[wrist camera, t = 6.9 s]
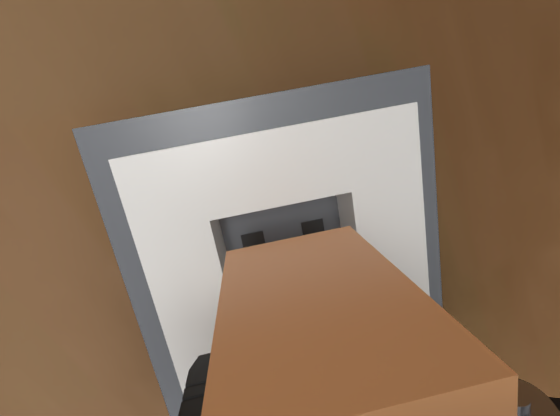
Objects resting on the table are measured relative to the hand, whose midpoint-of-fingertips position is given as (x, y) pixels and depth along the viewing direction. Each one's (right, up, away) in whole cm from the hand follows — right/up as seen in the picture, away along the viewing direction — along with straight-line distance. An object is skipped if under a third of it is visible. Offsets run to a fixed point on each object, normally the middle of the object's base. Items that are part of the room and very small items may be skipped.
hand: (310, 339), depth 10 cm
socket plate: (-1, +2, +8) cm, 8 cm away
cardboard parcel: (0, +1, +3) cm, 3 cm away
